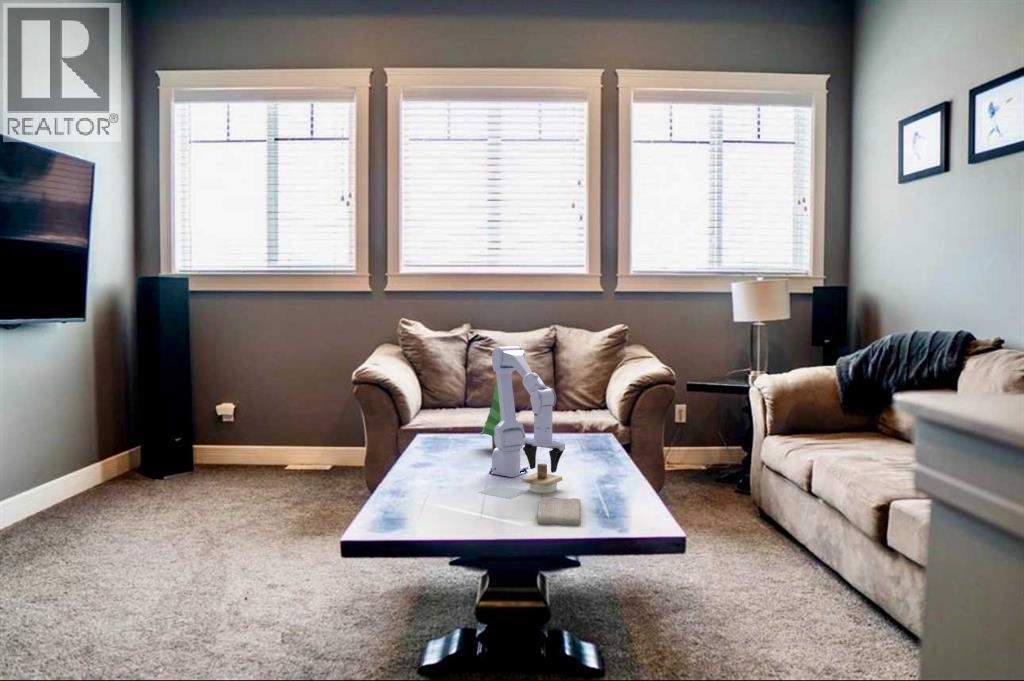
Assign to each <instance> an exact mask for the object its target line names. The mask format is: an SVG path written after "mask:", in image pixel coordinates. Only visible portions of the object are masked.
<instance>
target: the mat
mask: <svg viewBox="0 0 1024 681" xmlns="http://www.w3.org/2000/svg"><path fill="white" fill-rule="evenodd" d="M528 491H529V490H527V489H522V488H517V487H511V486H505V485H502V484H501V485H500V484H494V485H492V486H490V487H488V488H485V489H483V490H481V491H478V494H482V495H488V496H492V497H499V498H503V499H508V500H512V499H514V498H517V497H519V496H521V495H522V494H525V493H527V492H528Z"/></svg>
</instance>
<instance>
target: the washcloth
mask: <svg viewBox="0 0 1024 681" xmlns="http://www.w3.org/2000/svg"><path fill="white" fill-rule="evenodd" d="M581 503H582V502H581V499H580V498H577V497H576V498H574V497H573V498H561V497H553V496H552V497H542V498H541V499H540V500H539V502H538V509H537V510H538V511H537V524H541V525H562V526H570V525H571V526H580V525H581V522H582V521H581Z"/></svg>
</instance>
